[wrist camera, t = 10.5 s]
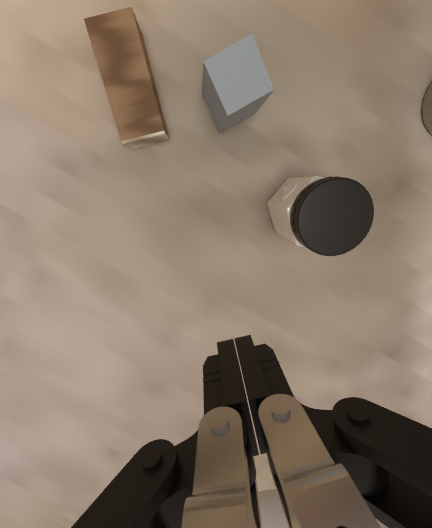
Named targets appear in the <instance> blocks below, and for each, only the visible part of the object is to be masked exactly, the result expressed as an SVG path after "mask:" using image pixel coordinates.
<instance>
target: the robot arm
mask: <svg viewBox="0 0 432 528" xmlns="http://www.w3.org/2000/svg"><path fill="white" fill-rule="evenodd" d="M422 116H423V121H424V124H425V127H426V128H427V130H428V131H429V132H430V133H431V134H432V83H431V84H430V86H429V88H428V90H427V92H426V94H425V97H424V101H423V107H422ZM234 339H235V343H236V347H237V352H238V356H239V361H240V365H241V370H242V374H243V378H244V383H245V387H246V392H247V396H248V400H249V405H250V409H251V413H252V418H253V422H254V427H255V431H256V435H257V440H258V444H259V448H260V453H261V454H264V453H267V457H268V461H269V465H270V469H271V473H272V478H273V481H274V484H275V487H276V490H277V494H278V497H279V500H280V503H281V506H282V509H283V512H284V514H285V518H286V521H287V524H288V527H289V528H381V527H380V526H379V524H378V522H377V521H376V519H377V520H379V521H380V522H381V523H383V524H384V525H386V526H387V527H388V528H432V428H429V427H427V426H425V425H422V424H420V423H418V422H416V421H413V420H411V419H409V418H407V417H404V416H402V415H400V414H397V413H395V412H393V411H391V410H388V409H386V408H384V407H381V406H379V405H377V404H375V403H372V402H370V401H368V400H365V399H362V398H356V397H350V398H344V399H342V400H340V401H338V402H337V403H336V404H335V405H334V407H333V410H320V409H313V408H309V407H307V406H305V405H303V404H301V403H300V402H299V401H298V400H297V399H296V398H295V397H294V396H293V394H292V391H291V389H290V387H289V385H288V382H287V380H286V378H285V376H284V373H283V371H282V369H281V367H280V364H279V362H278V360H277V358H276V355H275V353H274V351H273V349H271V348H270V347H269V346H267V345H266V344H261V345H257V346H254V344H253V341H252V338H251V335H247V336H243V337H239V338H234ZM217 347H218V355H213V356H209V357H207V359H206V361H205V363H204V365H203V376H204V377H203V383H204V385H203V386H204V416H203V418H202V419H201V421H200V423H199V428H198V430H197V432H196V433H195V434H194V435H192V436H191V437H190V438H188V439H187V440H185V441H183V442H181V443H179V444H178V445H176V446H174V445H173V444H172V443H171V442H169V441H167V440H164V439H159V440H154V441H151V442H149V443H147V444H146V445H144V446H143V447H142V448H141V449H140V450H139V451H138V452H137V453H136V454H135V455H134V456H133V457H132V459H131V460H130V461H129V462H128V463H127V464H126V465H125V467H124V468H123V469H122V470H121V471H120V472H119V473H118V475H117V476H116V477H115V478H114V479H113V480H112V481H111V483H110V484H109V485H108V486H107V487H106V488H105V490H104V491H103V492H102V493H101V494H100V495H99V496H98V498H97V499H96V500H95V501H94V502H93V503H92V504H91V506H90V507H89V508H88V509H87V510H86V511H85V512H84V514H83V515H82V516H81V517H80V518H79V519H78V520H77V522H76V523H75V524H74V525H73V526H72V527H71V528H262V522H261V513H260V506H259V497H258V488H257V481H256V468H255V463H254V458H253V456H256V455H259V453H258V448H257V444H256V439H255V434H254V430H253V425H252V421H251V416H250V412H249V407H248V403H247V398H246V393H245V389H244V384H243V380H242V375H241V371H240V367H239V362H238V358H237V354H236V349H235V345H234V341H233V339H230V340H226V341H221V342H217ZM375 518H376V519H375Z"/></svg>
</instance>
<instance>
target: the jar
mask: <svg viewBox="0 0 432 528" xmlns="http://www.w3.org/2000/svg"><path fill="white" fill-rule="evenodd" d="M267 206H268V209H269V212H270V215H271V219H272V222H273V225H274V229H275V232H276V233H278V234H279V235H281V236H283V237H284V238H286V239H287V240H289V241H290V242H292V243H293V244H295V245H297V246H300V247H306V248H308V249H310V250H311V251H313V252H315V253H317V254H320V255H324V256H336V255H341V254H344V253H346V252H348V251H350V250H352V249H354V248H355V247H356V246H357V245H359V244H360V243H361V242H362V240H363V239H364V238H365V237H366V235H367V234H368V232H369V230H370V228H371V225H372V221H373V216H374V207H373V202H372V199H371V196H370V194H369V192H368V191H367V190H366V188H365V187H364V186H363V185H361V184H360V183H359V182H357V181H355V180H352V179H349V178H344V177H334V178H333V177H326V178H324V177H319V176H307V177H291V178H288V179H287V180H286V181H285V182H284V183H283V185H282V186H281V187H280V188H279V189H278V190H277V192H276V193H275V194H274V195H273V196H272V197H271V199H270V200H269V201H268V202H267Z"/></svg>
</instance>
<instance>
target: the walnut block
mask: <svg viewBox="0 0 432 528" xmlns="http://www.w3.org/2000/svg"><path fill="white" fill-rule="evenodd" d="M84 21H85V24H86V27H87V30H88V34H89V37H90V40H91V43H92V47H93V50H94V53H95V56H96V60H97V63H98V66H99V69H100V73H101V76H102V79H103V82H104V86H105V89H106V92H107V95H108V99H109V102H110V105H111V108H112V112H113V115H114V118H115V121H116V125H117V128H118V131H119V134H120V138H121V141H122V144H124V145H126V146H128V147H130V148H131V149H135V148H139V147H144V146H148V145H152V144H156V143H160V142H164V141H168V140H169V137H168V133H167V129H166V125H165V121H164V117H163V113H162V110H161V106H160V102H159V98H158V94H157V90H156V86H155V83H154V79H153V75H152V71H151V67H150V63H149V60H148V56H147V52H146V48H145V44H144V40H143V36H142V33H141V30H140V28H139V25H138V22H137V20H136V17H135V15H134V12H133V9H132V7H129V8H125V9H121V10H117V11H113V12H109V13H105V14H101V15H97V16H93V17H89V18H85V19H84Z"/></svg>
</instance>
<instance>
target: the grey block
mask: <svg viewBox="0 0 432 528" xmlns="http://www.w3.org/2000/svg"><path fill="white" fill-rule="evenodd" d="M273 90H274V88H273V85H272V83H271V80H270V78H269V75H268V72H267V70H266V67H265V65H264V62H263V60H262V57H261V55H260V52H259V49H258V47H257V44H256V42H255V39H254V37H253V34H252V33H251V34H250V35H248V36H246V37H244V38H243V39H241V40H239V41H238V42H236V43H234V44H233V45H231V46H229V47H227V48H226V49H224V50H222V51H221V52H219V53H217V54H216V55H214V56H212V57H210V58H209V59H207V60H205V61H204V62H203V86H202V96H203V98H204V100H205V102H206V105H207V107H208V109H209V111H210V113H211V115H212V117H213V120H214V122H215V124H216V126H217V128H218V130H219V132H220V133H222V132H224V131H226V130H228V129H229V128H231V127H233V126H235V125H237V124H238V123H240V122H242V121H244V120H245V119H247V118H249V117H251V116H253V115H254V114H255V113H256V112H257V110H258V109H259V108H260V107H261V105H262V104H263V103H264V102H265V100H266V99H267V98H268V97H269V95H270V94H271V93H272V92H273Z"/></svg>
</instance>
